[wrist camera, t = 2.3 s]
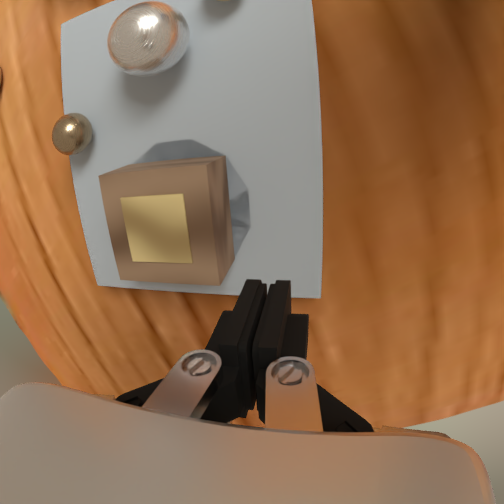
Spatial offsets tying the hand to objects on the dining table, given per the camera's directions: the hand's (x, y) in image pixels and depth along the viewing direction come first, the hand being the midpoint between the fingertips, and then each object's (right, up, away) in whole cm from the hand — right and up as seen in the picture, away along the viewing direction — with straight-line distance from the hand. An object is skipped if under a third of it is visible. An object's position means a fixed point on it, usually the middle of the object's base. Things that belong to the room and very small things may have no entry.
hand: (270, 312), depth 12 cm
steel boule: (-8, +17, +6) cm, 20 cm away
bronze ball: (-16, +13, +11) cm, 23 cm away
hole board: (-6, +13, +14) cm, 20 cm away
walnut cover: (-7, +6, +14) cm, 17 cm away
